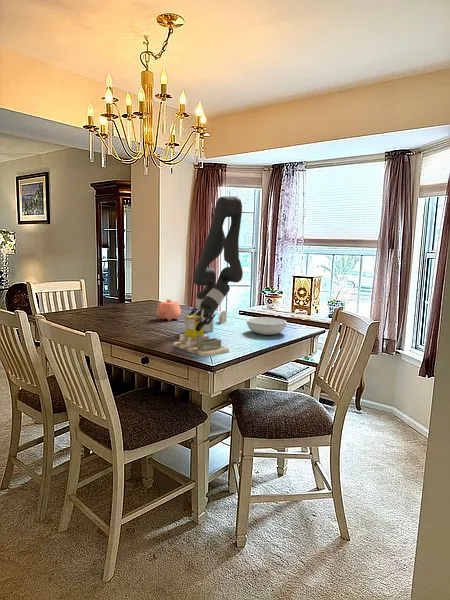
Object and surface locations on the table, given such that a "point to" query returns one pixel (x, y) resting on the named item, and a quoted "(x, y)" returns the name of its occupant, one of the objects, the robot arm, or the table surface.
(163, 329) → the table surface
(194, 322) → the supplement box
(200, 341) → the beige compartment tray
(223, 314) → the architectural model
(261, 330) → the serving bowl
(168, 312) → the teapot
